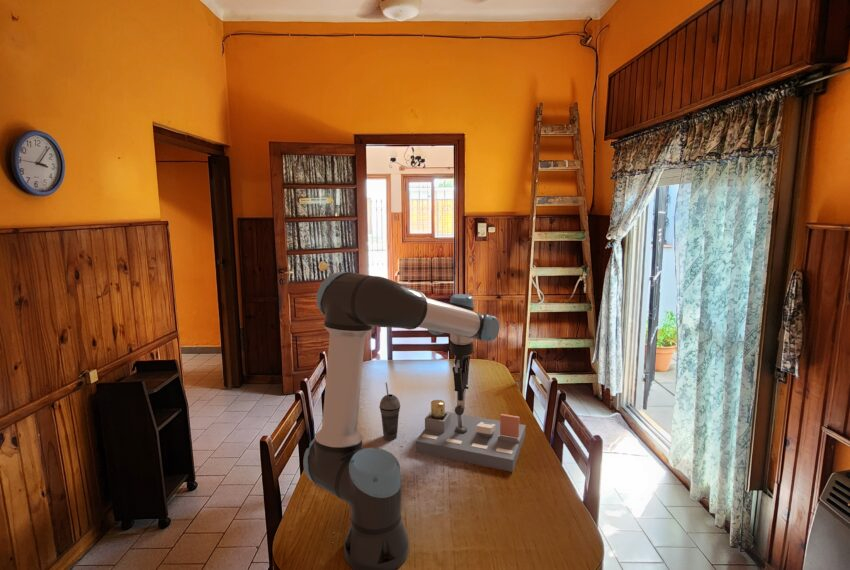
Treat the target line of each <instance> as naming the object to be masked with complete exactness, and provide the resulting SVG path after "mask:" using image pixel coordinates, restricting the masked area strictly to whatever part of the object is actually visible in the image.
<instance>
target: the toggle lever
mask: <svg viewBox="0 0 850 570" xmlns="http://www.w3.org/2000/svg"><path fill="white" fill-rule="evenodd" d="M454 413H456V414H457V418H458V427H459V428H463V425H464V424H463V415H464V413H465V409H464V408H463V407H462V406H460V405H458V406H457V405H456V406H455V407H454Z"/></svg>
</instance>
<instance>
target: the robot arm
mask: <svg viewBox="0 0 850 570" xmlns="http://www.w3.org/2000/svg"><path fill="white" fill-rule="evenodd" d="M316 306H317V308H318V310H319V312H320V313H321V314H322V315H323V316H324V321H323V322H324V324H323V326H324V329H325V330H326V331H327V332H328V333H329V343H328V350H327V351H328V353H327V363H326V364H327V365H326V374H325V375H326V376H325V387H324V388H325V390H324V400H323V401H324V402H323V411H322V425H321V429H320V430H319V431H317V432H316V433H315V435H314V438H313V439H312V440H311V441H310V443H309V444H308V445H309V447H307V448H306V450H305V452H304V455H303V461H302V462H303V465H302V466H303V470H304V473H305V475H306V477H307V478H308V479H309V481H311V482H312V483H313V484H314V485H315V486H317V487H318V488H320V489H322V490H325V491H326V492H328V493H330V494H331V495H333V496H335V497H336V498H337V499H339V500H341V501H343V502H345V503H346V504H348V505H349V506H350V525H349V527H348V531H347V534H346V537H345V541H344V546H343V547H344V548H343V549H344V550H343V551H344V559H345V561H346V563H347V564H348V566H349V567H350V568H351V569H352V570H397V569H398V568H399V567H401V566H402V565H403V564H404V562H405V561H406V560H407V558H408V556H409V552H410V540H409V536H408V533H407V531H406V527H405V525H404V522H403V519H402V482H403V481H402V472H401V465H400V462H399V460H398V459H397V457H396V456H395V455H394V454H393V453H391V451H388V450H386V449H384V448H378V447H377V448H376V449H375V448H374V447H366V448H363V447H362V446H363V435H362V433H361V432H360V431H359V430H358V425H359V423H358V421H359V411H360V399H361V389H362V388H361V387H362V376H363V367H364V365H363V363H364V356H365V355H364V353H365V343H366V342H365V341H366V336H367V335H368V334H369V333H370V332H372V330H373V327H377V328H392V329H396V328H397V329H405V330H415V329H418V328H420V329H426V330H427V331H428V332H429V333H430V334H432V335H435V336H438V335H442V334H449V336H450V337H449V340H450V343H449V346H450V347H449V350H450V353H451V354H452V355H453V356H455V358H454V361H453V363H454V366H452V369H451V370H452V372H453V373H452V374H453V382H454V383H453V384H454V389H453V390H454V392H456V406H458V405H460V406H462V407H463V408H464V410H465V409H466V408H467V407H466V406H467V402H466V401H467V400H466V399H467V390H469V386H468V384H469V374H470V373H469V371H470V361H471V356H470V355H472V354H473V353H474V342H473V341H474V340H479V341H482V342H489V343H490V342H493V341H495V340H496V339H497V337H498V335H499V333H500V328H501V327H500V326H501V325H500V321H499V319H498V318H497V317H496V316H495V315H490V314H485V313H481V312H477V311H475V310H474V309H475V306H474V297H473V296H472V295H470V294H466V293H465V294H464V293H458V294H457V293H455V294H453V295H451V297H450V299H449V303H446V302H443V301H439V300H437V299H433V298H429V297H426V295H425V294H424V293H423V292H422V291H420V290H417V289H415V288H413V287H412V288H411V287H410V286H407V285H404V284H402V283H399V282H397V281H394V280H391V279H389V278H386V277H383V276H377V275H368V274H364V273H356V272H351V271H336V272H334V273H331V274H330V275H328V276H327V277H326V278H325V279H324V280H323V281H322V282H321V284H320V285H319V287H318V290H317V294H316Z"/></svg>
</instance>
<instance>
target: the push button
mask: <svg viewBox="0 0 850 570" xmlns="http://www.w3.org/2000/svg"><path fill="white" fill-rule="evenodd" d="M430 412H431V418H432V419H438V420H443V419H444V418H445V412H446V401H444V400H442V399H433V400H432V401H430Z"/></svg>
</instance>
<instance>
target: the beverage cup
mask: <svg viewBox="0 0 850 570" xmlns="http://www.w3.org/2000/svg"><path fill="white" fill-rule="evenodd" d="M388 387H389V386H388V382H385V388H386V394H385V395H384V396H383V397H382V398H381V400H380V402H379V407H378V408H379V411H380V415H381V416H380V417H381V423H382V424H381V425H382V434H383V438H384V440H385V441H394V440H396V439H397V437H398V430H399V429H398V428H399V427H398V426H399V418H400V417H399V414H400V410H401V402H400V400H399V398H398V396H396V395H394V394H391V393H389V389H388Z"/></svg>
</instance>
